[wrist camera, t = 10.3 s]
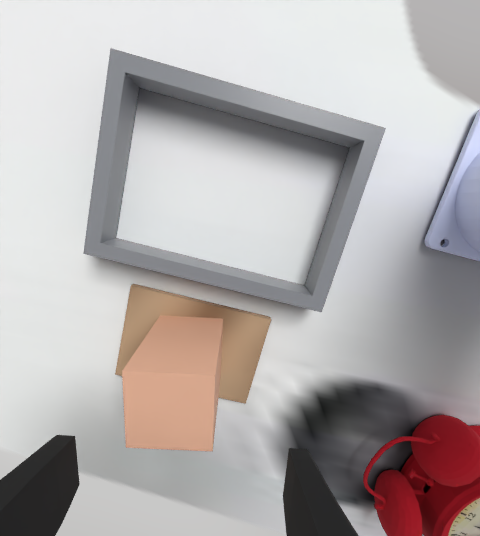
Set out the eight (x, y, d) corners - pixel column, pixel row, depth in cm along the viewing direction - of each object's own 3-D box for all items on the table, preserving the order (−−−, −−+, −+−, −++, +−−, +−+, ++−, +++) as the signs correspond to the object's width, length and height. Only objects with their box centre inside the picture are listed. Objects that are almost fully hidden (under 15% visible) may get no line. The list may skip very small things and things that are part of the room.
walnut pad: (270, 317, 19) (271, 319, 18) (245, 399, 20) (245, 403, 20) (133, 283, 18) (130, 285, 18) (117, 370, 20) (115, 374, 19)
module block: (223, 318, 18) (215, 375, 12) (220, 374, 19) (212, 451, 13) (160, 315, 18) (122, 371, 12) (160, 371, 19) (126, 447, 13)
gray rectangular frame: (368, 136, 16) (385, 128, 14) (312, 300, 18) (321, 312, 16) (127, 67, 15) (110, 48, 13) (101, 247, 18) (83, 253, 16)
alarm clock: (529, 613, 20) (378, 617, 15) (451, 513, 26) (323, 493, 21) (639, 512, 18) (503, 479, 13) (527, 427, 24) (403, 383, 19)
